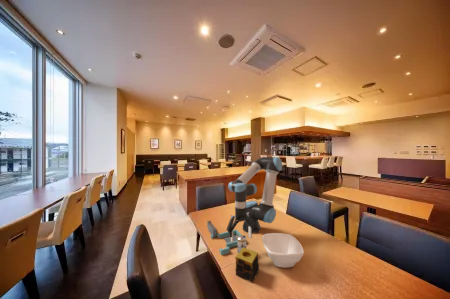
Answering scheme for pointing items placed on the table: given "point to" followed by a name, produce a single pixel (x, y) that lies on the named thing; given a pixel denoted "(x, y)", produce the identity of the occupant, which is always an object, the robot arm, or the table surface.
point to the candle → (247, 264)
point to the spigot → (241, 242)
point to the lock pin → (211, 228)
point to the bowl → (283, 249)
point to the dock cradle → (227, 241)
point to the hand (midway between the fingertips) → (241, 239)
